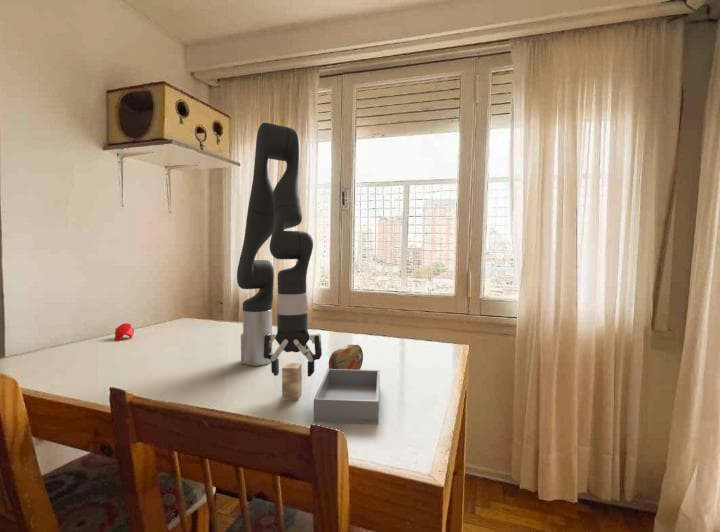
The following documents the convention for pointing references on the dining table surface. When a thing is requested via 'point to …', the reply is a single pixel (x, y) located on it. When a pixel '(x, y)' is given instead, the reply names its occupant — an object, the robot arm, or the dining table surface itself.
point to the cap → (123, 331)
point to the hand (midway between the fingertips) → (293, 375)
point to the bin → (348, 397)
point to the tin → (347, 358)
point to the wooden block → (291, 381)
